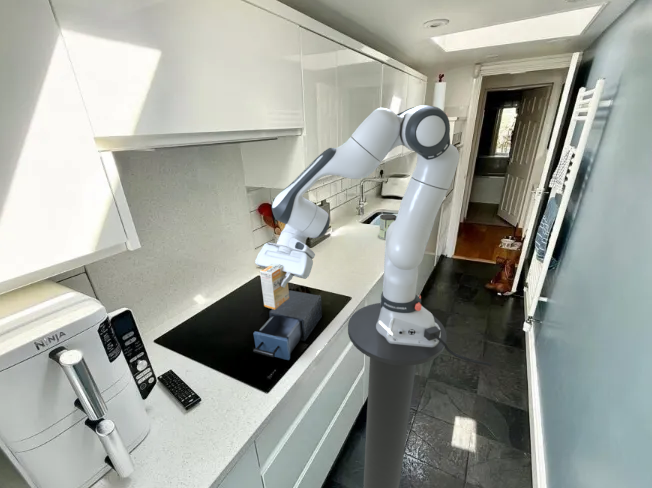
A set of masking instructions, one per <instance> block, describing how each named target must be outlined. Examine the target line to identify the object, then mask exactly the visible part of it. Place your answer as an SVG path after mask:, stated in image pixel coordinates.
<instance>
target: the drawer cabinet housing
mask: <svg viewBox="0 0 652 488" xmlns="http://www.w3.org/2000/svg"><path fill="white" fill-rule="evenodd" d="M268 314H269V319H270V318H271V317H272V316H273V315H277V316H282V317H286V318H291V319H296V320H301V321H302V333H303V337H302V338H301V340H300V341H301V342H306V341H307V340H308V338H309V336H310V335H311V333H312V332H313V330H314V329H315V328H316V326H317V324H318V323H319V321H320V320H321V319H322V317H323V307H322V295H318V294H312V293H307V292H302V291H296V290H289V299H288V300H286V301H285V302H284V303H282V304H281V305H280V306H279V307H278V308H277V309H275V310H274V309H271V310H269V312H268Z"/></svg>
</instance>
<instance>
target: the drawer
mask: <svg viewBox="0 0 652 488" xmlns="http://www.w3.org/2000/svg"><path fill="white" fill-rule="evenodd" d="M302 337H303V333H302V321H301V320H296V319H291V318H286V317H282V316H277V315H273V316H272V317H271V318H270V317H269V318H268V320H267V321H266V322H265V323H264V324H263V325H262V326H261V327H260V329H259V331H254V332H253V340H254V345H255V347H254V348H253V350H252V352H253V354H257V355H262V356H266V357H269V358H278V359H282V360H286V361H290V359H291V354H292V352H293V351H294V349H296V347H297V345H298V344H299V342H300V341H301V338H302Z"/></svg>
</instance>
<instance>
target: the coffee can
mask: <svg viewBox="0 0 652 488" xmlns="http://www.w3.org/2000/svg"><path fill="white" fill-rule="evenodd" d="M396 218H397V214H393V213H384V214H380V215H379V233H378V234H379V235H378V237H379V239H382V240H386V232H387V229H388V227H389V226H390V224H391V223H392V222H393V221H395V220H396Z"/></svg>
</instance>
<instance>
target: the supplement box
mask: <svg viewBox="0 0 652 488" xmlns="http://www.w3.org/2000/svg"><path fill="white" fill-rule="evenodd" d="M283 267H284V266H283V265H280V264H271V265H269V266H268V267H266V268H262V269H261V270H259V276H260V284H261V292H262V299H263V307H265V308H268V309H271V310H272V309H274V310H275V309H277V308H278V307H279V306H280V305H281V304H282V303H284V302H285V301H286V300H288V299H289V291H290V290H289V289H290V288H289V282H288V283H287V284H286V286H285V288H283V287H280V286H279V283H280V280H282V281H283V280H284V279H285V278H286V277H287V276H285V275H286V273H287V272H283Z"/></svg>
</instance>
